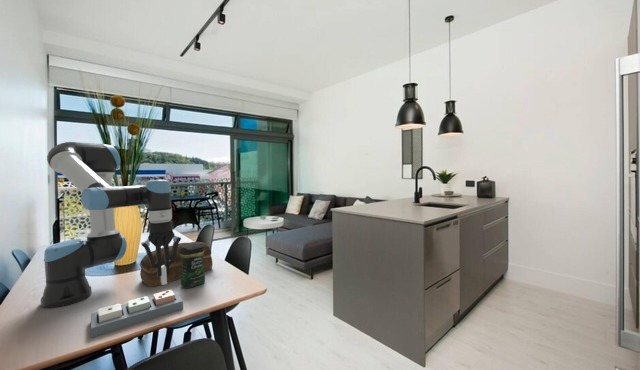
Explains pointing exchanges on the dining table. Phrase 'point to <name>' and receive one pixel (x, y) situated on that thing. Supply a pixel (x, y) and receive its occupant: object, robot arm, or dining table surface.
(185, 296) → the dining table surface
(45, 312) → the dining table surface
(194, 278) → the coffee jar
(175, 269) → the bread
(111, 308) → the button one
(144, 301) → the button two
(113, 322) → the console
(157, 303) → the button three
